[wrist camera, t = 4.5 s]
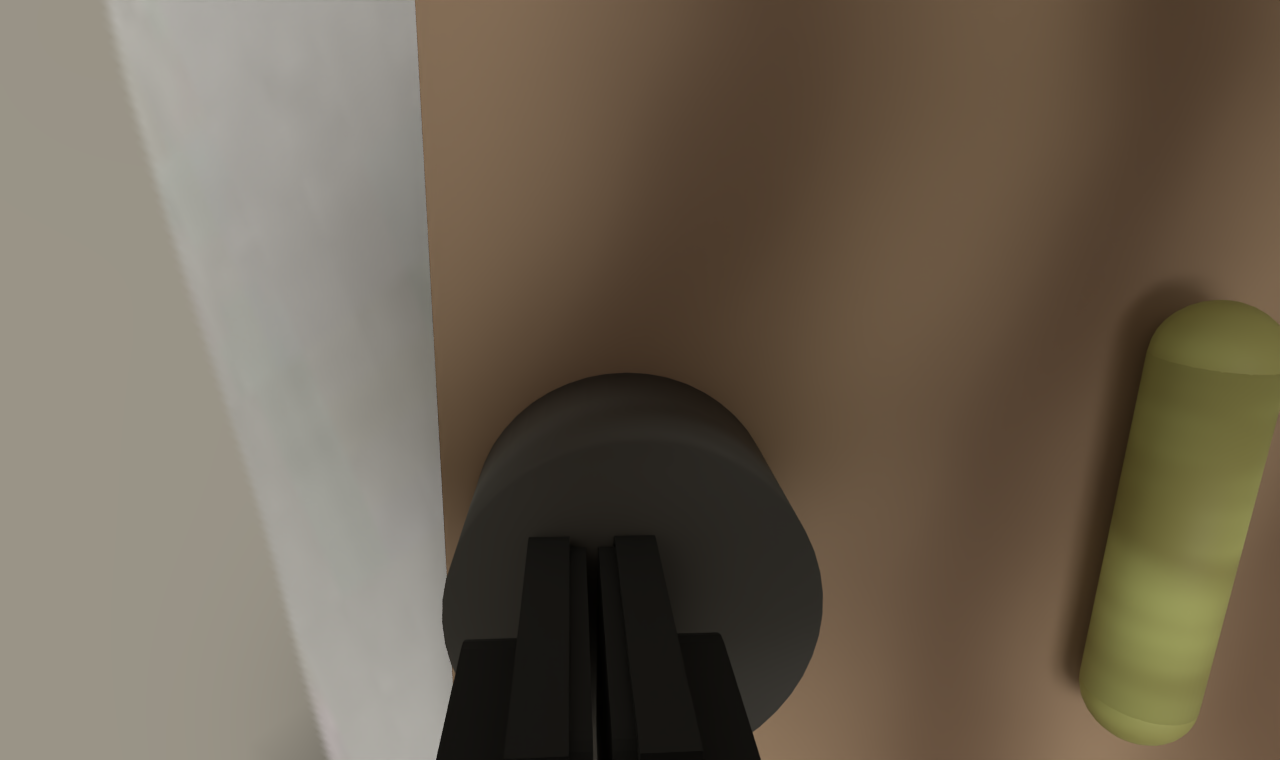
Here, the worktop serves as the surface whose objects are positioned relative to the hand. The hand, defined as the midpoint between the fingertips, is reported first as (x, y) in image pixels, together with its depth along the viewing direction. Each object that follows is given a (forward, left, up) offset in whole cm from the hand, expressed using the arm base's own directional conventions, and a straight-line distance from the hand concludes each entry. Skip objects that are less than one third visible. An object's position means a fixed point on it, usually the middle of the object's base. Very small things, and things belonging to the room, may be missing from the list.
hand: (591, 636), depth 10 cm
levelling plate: (-8, 0, -4) cm, 9 cm away
